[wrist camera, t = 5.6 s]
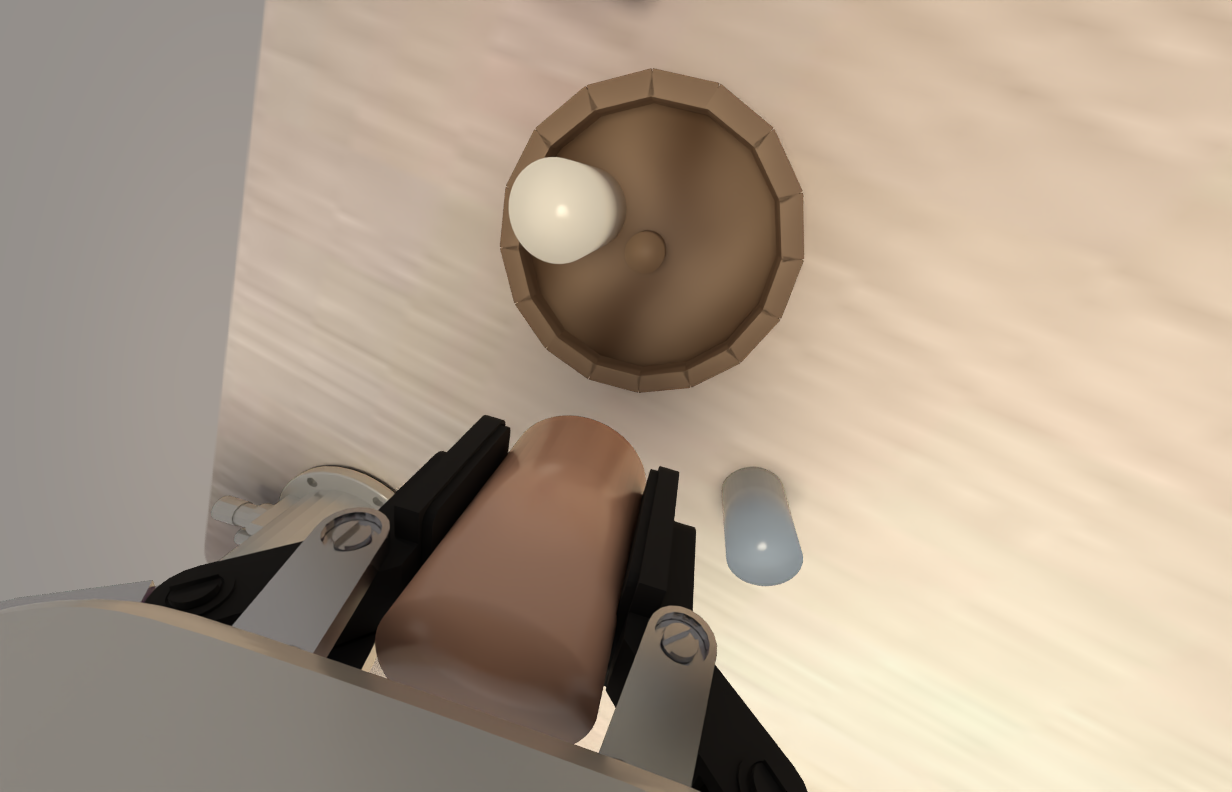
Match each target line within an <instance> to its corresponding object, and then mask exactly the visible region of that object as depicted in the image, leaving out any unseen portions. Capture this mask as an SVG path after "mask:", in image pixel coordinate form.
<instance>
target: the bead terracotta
mask: <svg viewBox="0 0 1232 792" xmlns="http://www.w3.org/2000/svg"><path fill="white" fill-rule="evenodd" d="M645 486H646V477H645V472H644V468H643V465H642V462H641V460H640V458H639V456H638V454H637V453H636V451H635V450H634V448H633V447H632V446H631V444H630V443H629V442H628V441H627V440H626V439H625V438H624V437H623V436H621V435H620V434H619V433H618V432H616V431H615V430H613V429H612V428H610V427H608V426H607V425H605V424H602V423H600V422H598V421H595V420H592V419H589V418H585V417H580V416H556V417H551V418H548V419H544V420H542V421H540V422H538V423H536V424H534V425H533V426H531V427H530V428H529V429H528V430H526V431H525V432H524V434H523V435H522V436H521V437H520V438H519V440H518V441H517V442H516V444H515V445H514V446H513V448H512V449H511V450H510V451H509V453H508V454H507V455H506V457H505V458H504V459H503V461H502V462H501V463H500V465H499V466H498V467H497V469H496V470H495V471H494V472H493V474H492V475H491V476H490V478H489V479H488V480H487V482H486V483H485V484H484V486H483V487H482V488H481V490H480V491H479V492H478V493H477V495H476V496H475V497H474V499H473V500H472V501H471V503H470V504H469V505H468V507H467V508H466V509H465V511H464V512H463V513H462V514H461V516H460V517H459V518H458V520H457V521H456V522H455V524H454V525H453V526H452V528H451V529H450V530H449V532H448V533H447V534H446V535H445V537H444V538H443V539H442V541H441V542H440V543H439V545H438V546H437V547H436V549H435V550H434V551H433V553H432V554H431V555H430V556H429V558H428V559H427V560H426V562H425V563H424V564H423V566H422V567H421V568H420V570H419V571H418V572H417V574H416V575H415V576H414V577H413V579H412V580H411V581H410V583H409V584H408V585H407V587H406V588H405V589H404V591H403V592H402V593H401V595H400V596H399V597H398V598H397V600H396V601H395V602H394V604H393V605H392V606H391V608H390V609H389V610H388V612H387V613H386V614H385V616H384V617H383V618H382V620H381V622H380V623H379V625H378V628H377V631H376V635H375V648H376V654H377V657H378V660H379V664H380V666H381V668H382V670H383V672H384V674H385V675H386V677H387V678H388V679H389V680H392V681H395V682H398V683H401V684H404V685H406V686H409V687H412V688H415V689H418V690H421V691H424V692H427V693H429V694H432V695H435V696H438V697H441V698H444V699H447V700H450V701H452V702H455V703H458V704H461V705H464V706H467V707H470V708H472V709H475V710H478V711H481V712H484V713H487V714H490V715H492V716H495V717H498V718H501V719H504V720H507V721H509V722H512V723H515V724H518V725H521V726H524V727H526V728H529V729H532V730H535V731H538V732H540V733H543V734H546V735H549V736H552V737H555V738H557V739H560V740H563V741H566V742H569V743H571V744H575V743H577V742H579V741H580V740H581V739H583V738H584V737H585V736H586V735H587V734H588V733H589V732H590V730H591V729H592V728H593V726H594V724H595V721H596V719H597V714H598V710H599V705H600V700H601V696H602V691H603V686H604V682H605V677H606V672H607V668H608V663H609V658H610V654H611V649H612V644H613V640H614V635H615V630H616V624H617V615H616V613H617V609H618V604H619V600H620V595H621V591H622V586H623V582H624V577H625V572H626V568H627V563H628V559H629V554H630V550H631V545H632V541H633V536H634V532H635V527H636V523H637V518H638V514H639V509H640V505H641V500H642V496H643V492H644V489H645Z"/></svg>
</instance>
